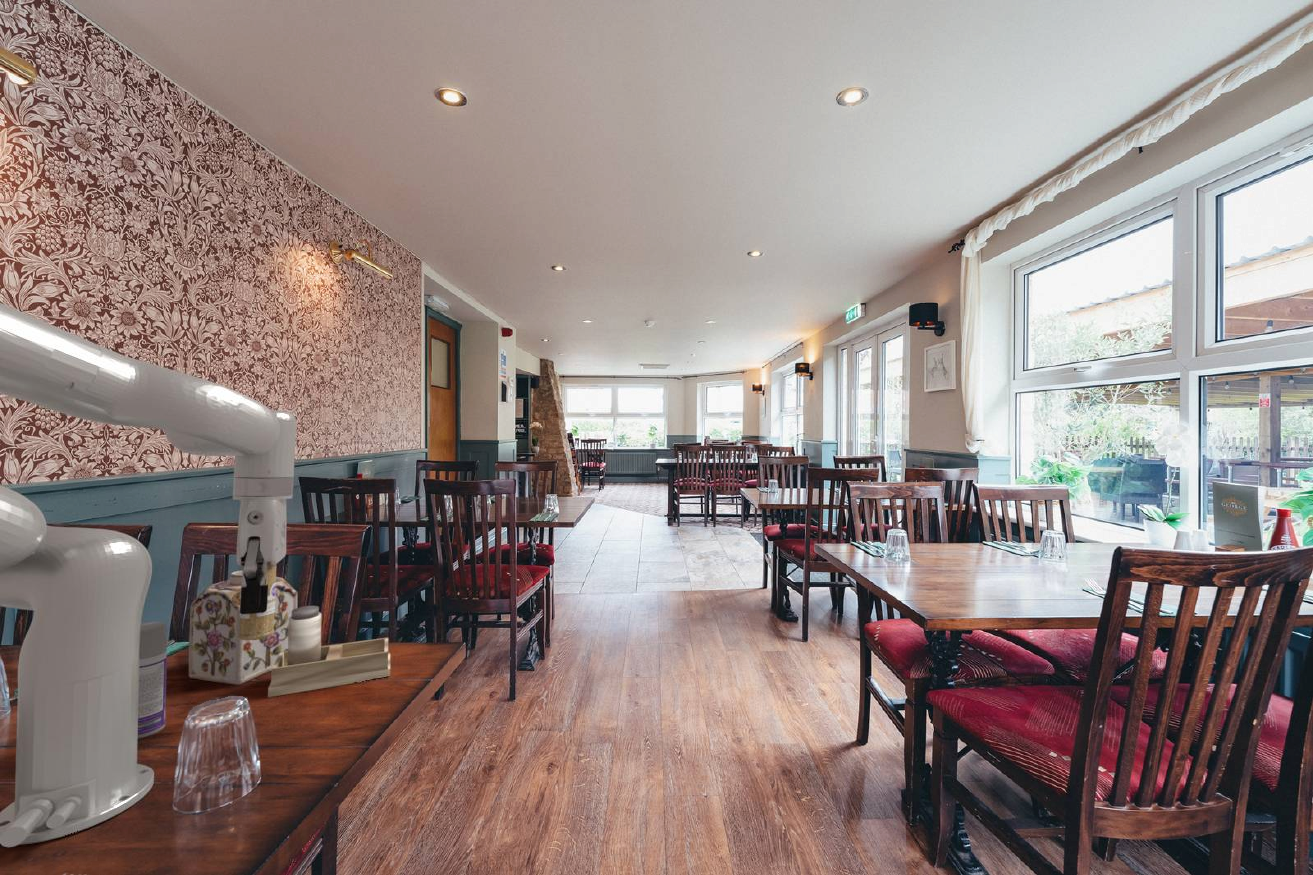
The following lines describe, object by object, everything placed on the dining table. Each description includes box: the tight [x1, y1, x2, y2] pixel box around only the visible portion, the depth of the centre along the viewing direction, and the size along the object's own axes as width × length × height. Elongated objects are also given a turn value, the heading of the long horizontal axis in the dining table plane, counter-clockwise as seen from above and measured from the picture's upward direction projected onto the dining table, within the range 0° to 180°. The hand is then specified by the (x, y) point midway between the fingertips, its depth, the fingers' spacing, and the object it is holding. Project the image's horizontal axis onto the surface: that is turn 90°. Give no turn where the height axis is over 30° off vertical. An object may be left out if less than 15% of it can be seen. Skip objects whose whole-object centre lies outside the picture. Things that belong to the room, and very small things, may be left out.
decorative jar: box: [188, 570, 298, 686], centre depth 99 cm, size 12×12×18 cm
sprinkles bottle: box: [238, 555, 277, 641], centre depth 83 cm, size 5×5×14 cm
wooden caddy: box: [267, 605, 391, 698], centre depth 96 cm, size 8×18×13 cm, turn 116°
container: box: [137, 621, 168, 740], centre depth 78 cm, size 5×5×15 cm
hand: (257, 607), depth 82 cm, fingers closed on sprinkles bottle, 4 cm apart
